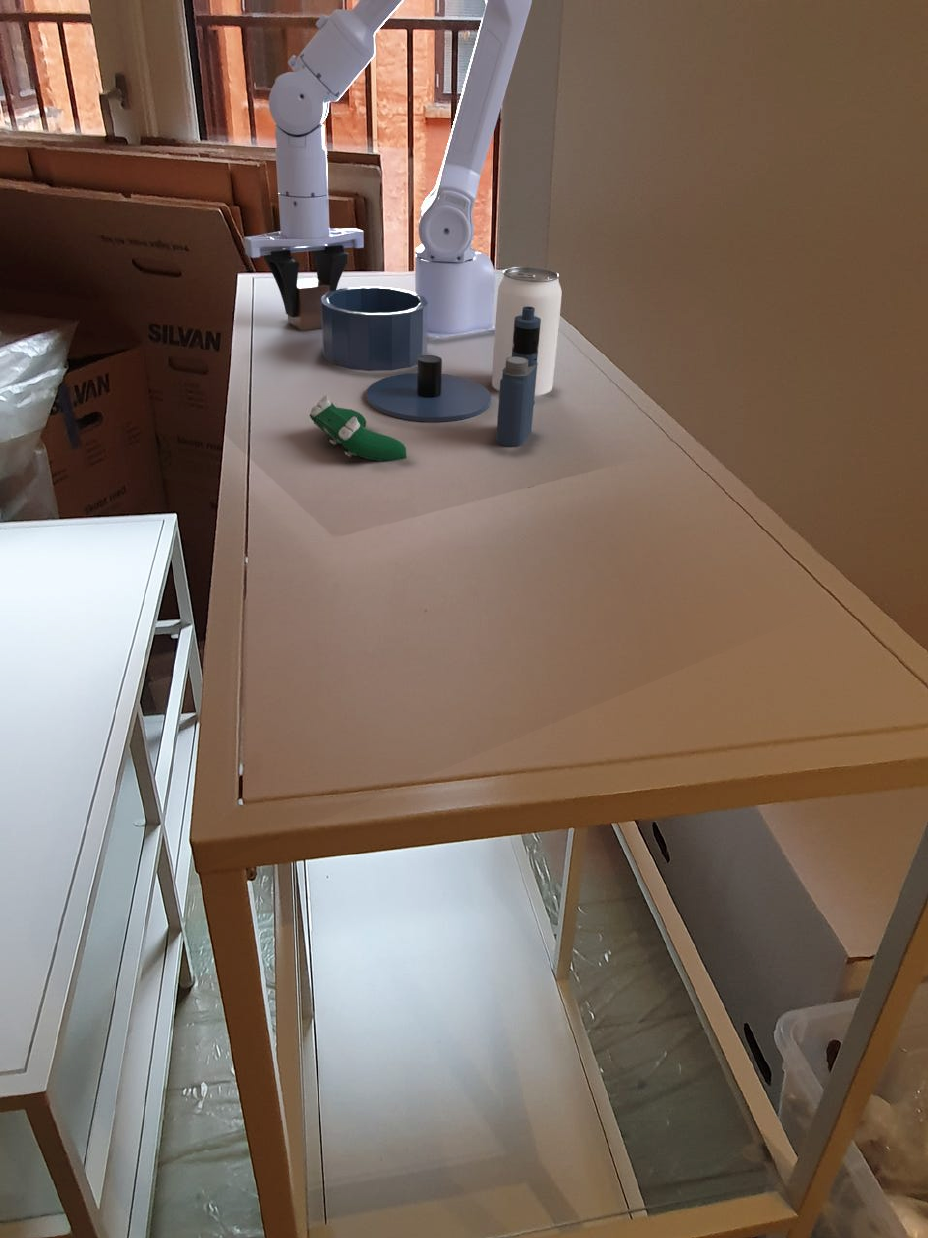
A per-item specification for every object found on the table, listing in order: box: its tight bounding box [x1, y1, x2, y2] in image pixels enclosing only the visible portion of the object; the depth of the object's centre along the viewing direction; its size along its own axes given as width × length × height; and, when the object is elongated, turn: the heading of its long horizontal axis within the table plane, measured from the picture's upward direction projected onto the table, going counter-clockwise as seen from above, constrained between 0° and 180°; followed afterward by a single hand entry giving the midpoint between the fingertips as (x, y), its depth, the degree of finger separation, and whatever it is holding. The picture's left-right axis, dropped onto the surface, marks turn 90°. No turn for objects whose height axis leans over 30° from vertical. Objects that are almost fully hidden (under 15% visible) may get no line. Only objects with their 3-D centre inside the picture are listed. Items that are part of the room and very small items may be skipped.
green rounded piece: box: [309, 395, 407, 462], centre depth 81 cm, size 9×4×6 cm
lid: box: [366, 354, 492, 423], centre depth 91 cm, size 13×13×5 cm
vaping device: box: [495, 306, 541, 448], centre depth 82 cm, size 3×5×12 cm, turn 161°
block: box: [287, 277, 330, 332], centre depth 112 cm, size 4×4×5 cm
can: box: [491, 266, 563, 397], centre depth 94 cm, size 6×6×12 cm
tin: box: [321, 286, 428, 372], centre depth 102 cm, size 12×12×6 cm
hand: (309, 312), depth 113 cm, fingers closed on block, 4 cm apart
